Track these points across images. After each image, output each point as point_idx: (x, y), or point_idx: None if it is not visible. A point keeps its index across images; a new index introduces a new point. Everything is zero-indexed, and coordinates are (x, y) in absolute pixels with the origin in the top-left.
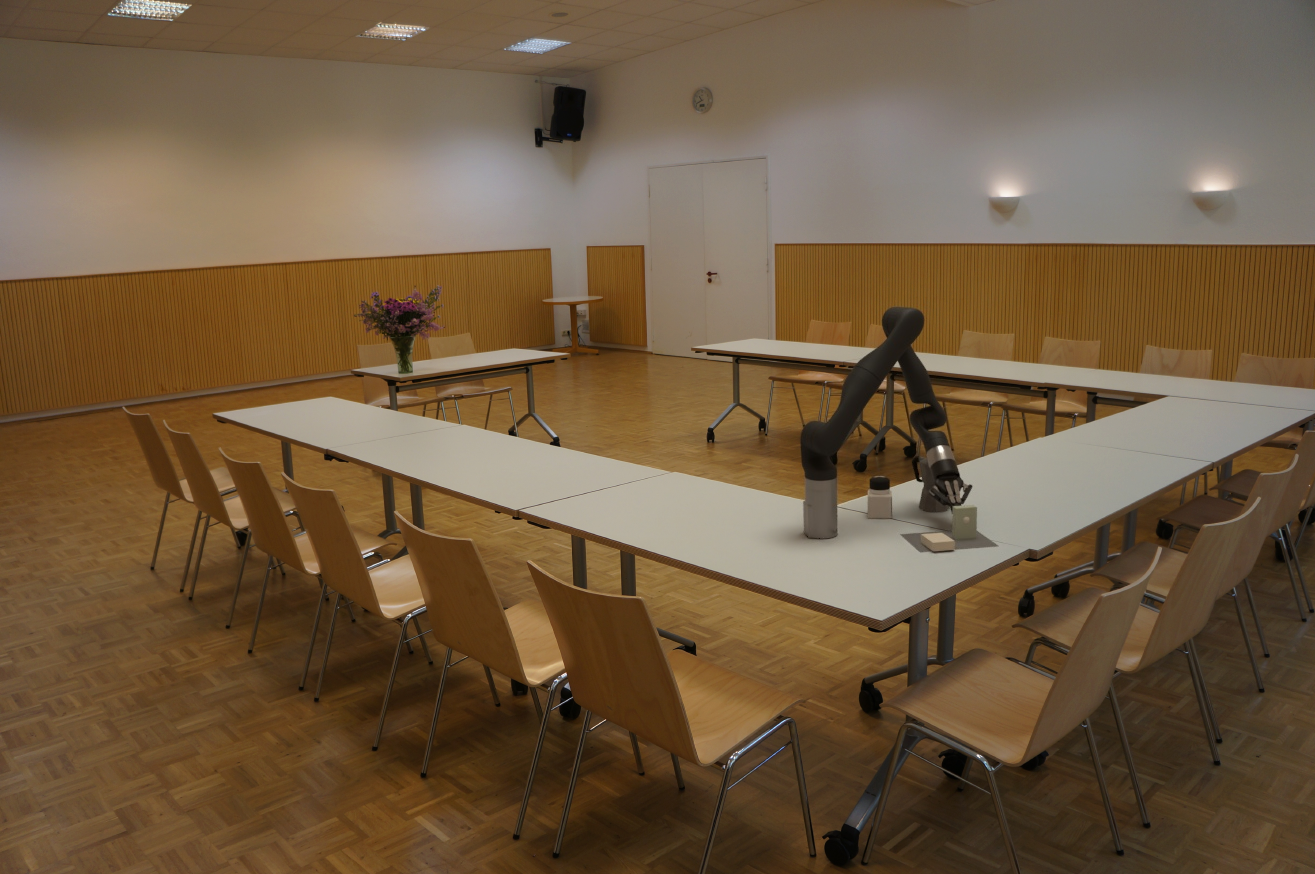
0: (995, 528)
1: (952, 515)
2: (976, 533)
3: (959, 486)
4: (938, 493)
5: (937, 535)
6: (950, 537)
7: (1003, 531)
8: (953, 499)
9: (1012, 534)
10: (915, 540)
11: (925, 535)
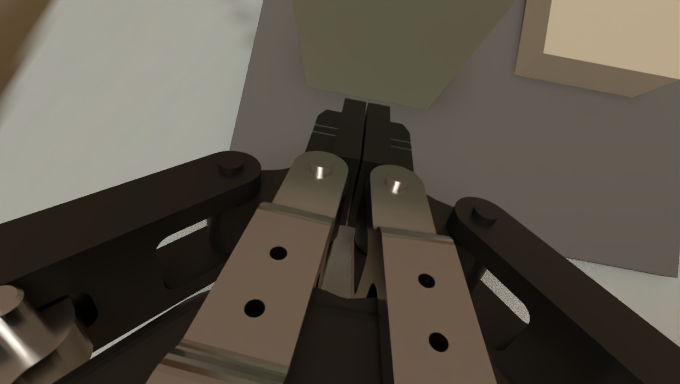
0: (87, 180)
1: (484, 38)
2: (264, 109)
3: (127, 374)
4: (622, 332)
5: (602, 8)
6: (438, 107)
7: (85, 115)
8: (386, 192)
9: (78, 51)
10: (642, 141)
11: (668, 40)
